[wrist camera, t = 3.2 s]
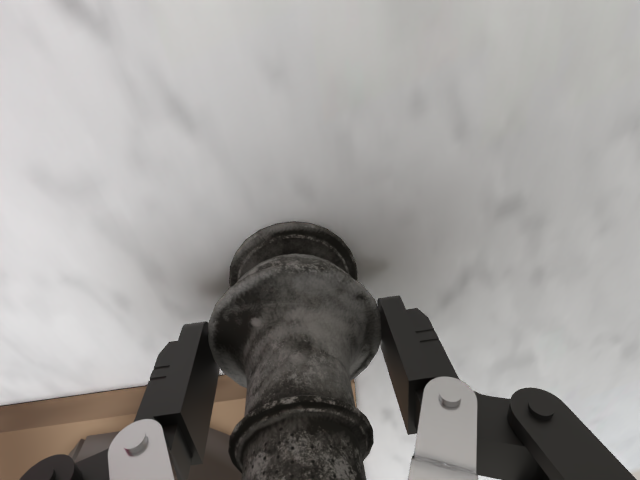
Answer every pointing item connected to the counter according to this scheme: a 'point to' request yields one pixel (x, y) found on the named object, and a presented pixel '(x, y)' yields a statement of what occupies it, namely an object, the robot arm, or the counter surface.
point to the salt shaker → (296, 354)
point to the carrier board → (108, 429)
